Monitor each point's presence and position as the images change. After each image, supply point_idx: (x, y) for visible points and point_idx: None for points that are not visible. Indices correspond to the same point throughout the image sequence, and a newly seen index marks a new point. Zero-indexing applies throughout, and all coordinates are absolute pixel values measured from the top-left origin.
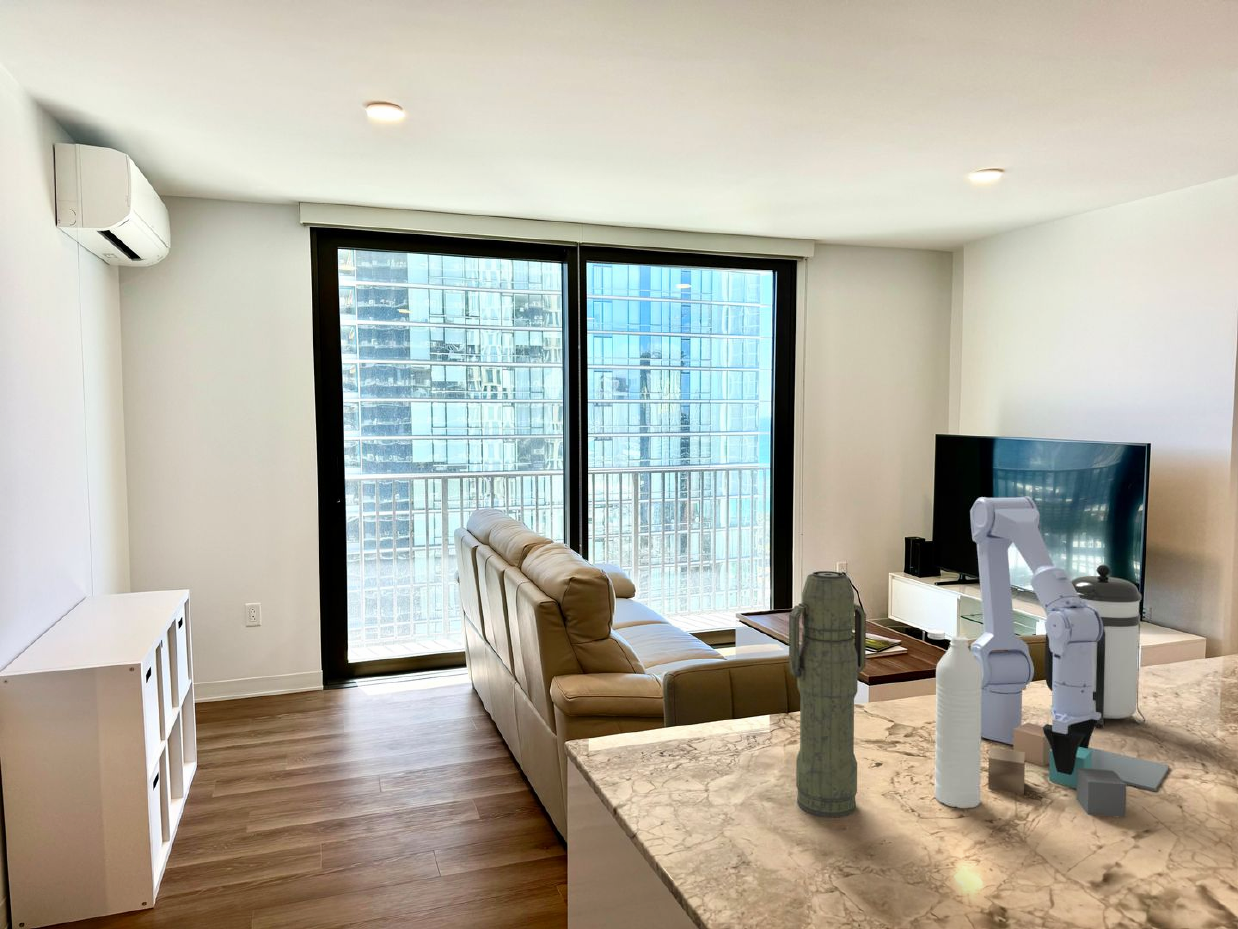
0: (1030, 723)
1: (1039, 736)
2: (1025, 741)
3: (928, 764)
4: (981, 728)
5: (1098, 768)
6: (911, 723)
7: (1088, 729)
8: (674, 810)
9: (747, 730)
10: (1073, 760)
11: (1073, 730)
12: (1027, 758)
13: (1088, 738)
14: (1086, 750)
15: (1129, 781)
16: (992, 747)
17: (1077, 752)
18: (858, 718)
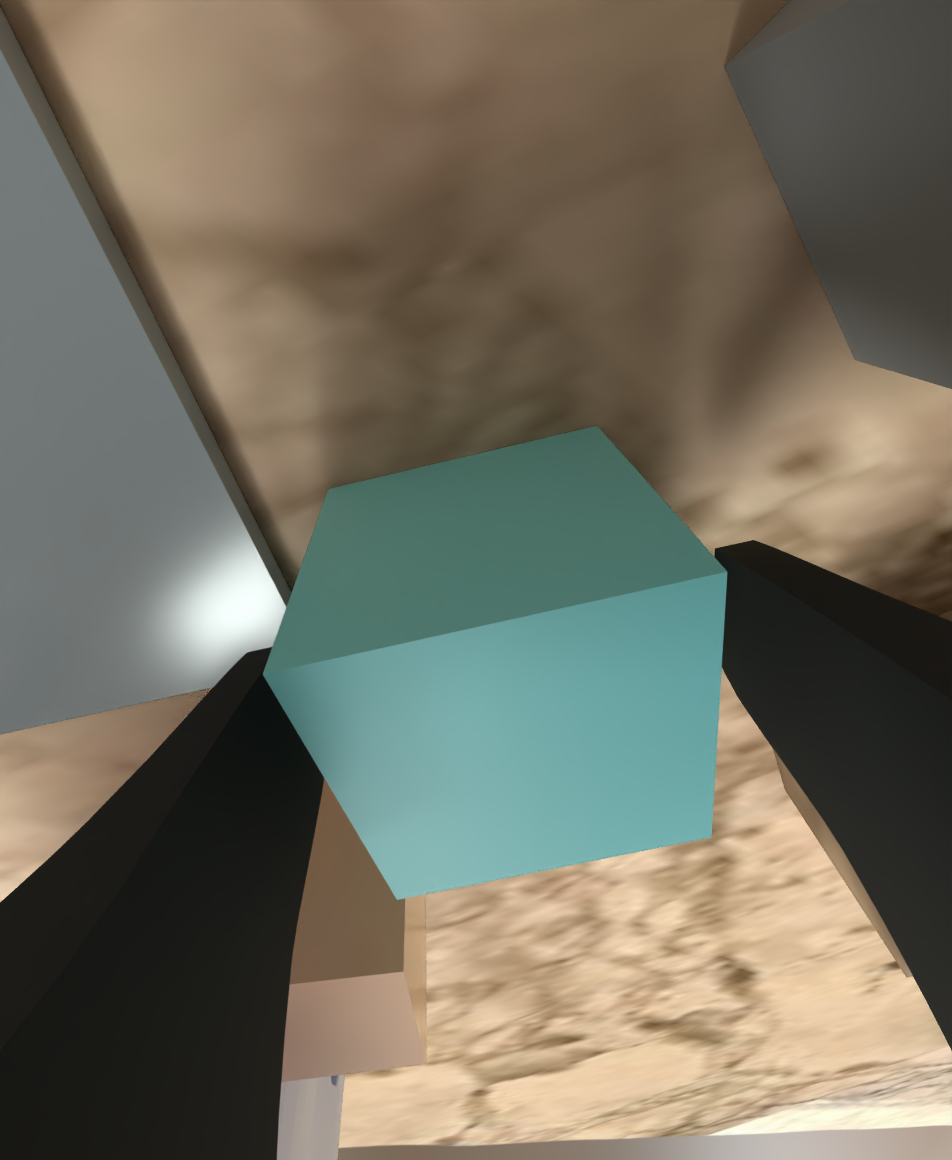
0: None
1: (407, 983)
2: (418, 949)
3: (801, 922)
4: None
5: (94, 553)
6: (442, 1077)
7: (66, 1053)
8: None
9: (842, 1107)
10: (913, 612)
11: (230, 1036)
12: None
13: (152, 857)
14: (372, 696)
15: (45, 183)
16: (908, 973)
17: (545, 712)
18: (545, 1109)
